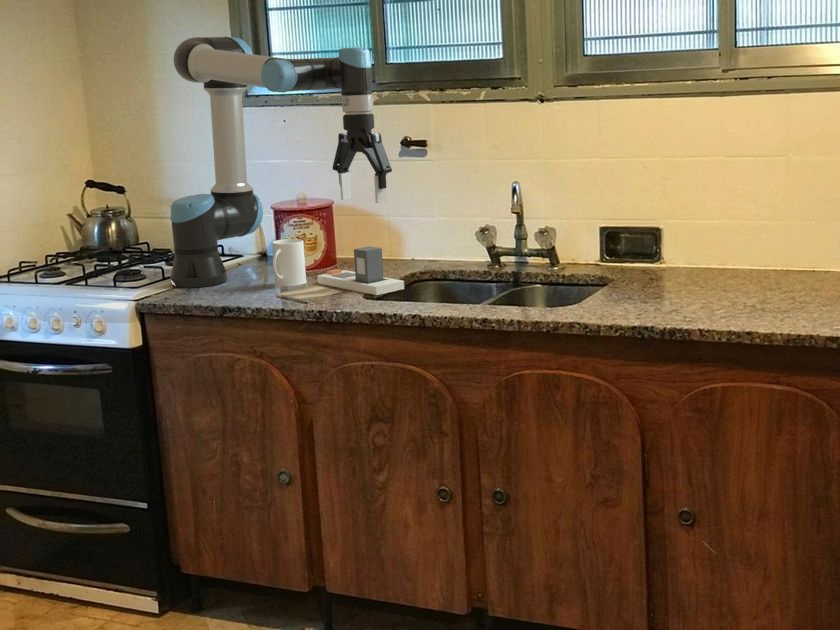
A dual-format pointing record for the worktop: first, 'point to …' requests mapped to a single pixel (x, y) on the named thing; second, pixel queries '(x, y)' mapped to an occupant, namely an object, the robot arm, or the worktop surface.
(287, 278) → the mug
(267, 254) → the worktop surface
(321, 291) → the trivet
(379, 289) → the strip
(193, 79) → the robot arm
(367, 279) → the block
